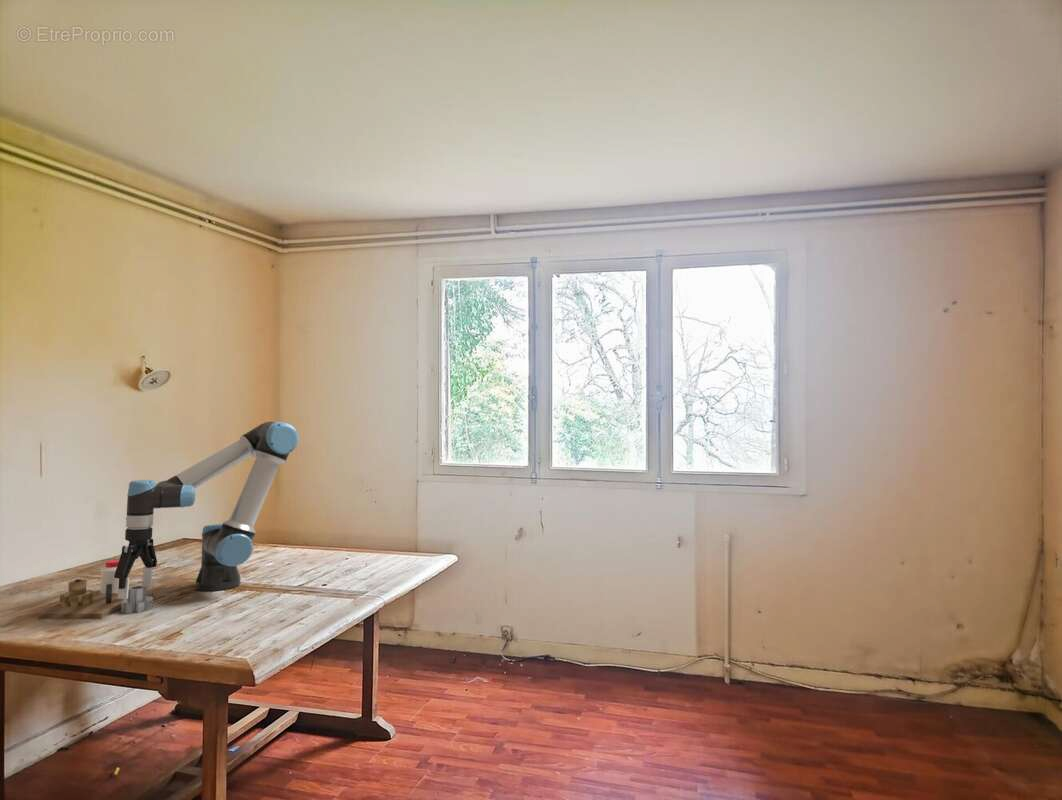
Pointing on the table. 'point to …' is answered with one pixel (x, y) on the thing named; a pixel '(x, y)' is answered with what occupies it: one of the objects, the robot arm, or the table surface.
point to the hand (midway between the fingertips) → (135, 592)
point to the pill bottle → (109, 576)
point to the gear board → (85, 609)
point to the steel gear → (136, 600)
